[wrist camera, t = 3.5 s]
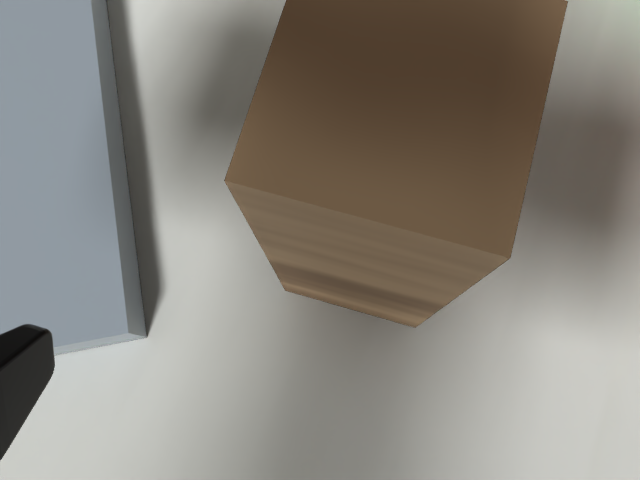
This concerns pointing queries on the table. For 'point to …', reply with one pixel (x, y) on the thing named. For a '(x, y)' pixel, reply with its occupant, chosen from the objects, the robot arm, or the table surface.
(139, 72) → the table surface
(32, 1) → the plate
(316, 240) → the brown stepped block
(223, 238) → the table surface
